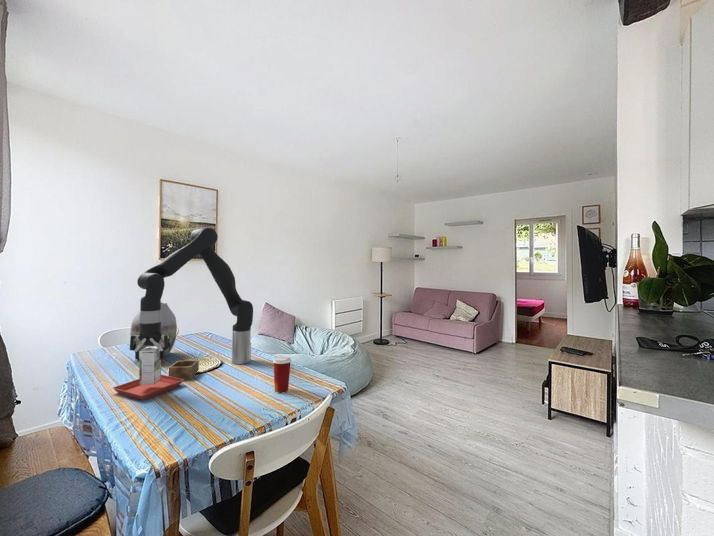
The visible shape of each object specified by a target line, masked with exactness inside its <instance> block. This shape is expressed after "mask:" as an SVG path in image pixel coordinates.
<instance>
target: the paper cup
mask: <svg viewBox="0 0 714 536" xmlns="http://www.w3.org/2000/svg"><path fill="white" fill-rule="evenodd" d="M272 363H273V381H274V382H273V384H274V385H273V386H274V387H273V388H274V392H275V393H276V392H279V393H278V394H283V393H282V392H285V393H287V392H288V391H289V385H290V375H291V374H290V373H291V363H292V359H291V356H290V355H285V354H284V355H277V356H275V357H274V358H273V360H272ZM286 391H287V392H286Z"/></svg>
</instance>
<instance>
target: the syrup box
mask: <svg viewBox="0 0 714 536" xmlns="http://www.w3.org/2000/svg"><path fill="white" fill-rule="evenodd" d="M159 351H160V350H159V349H158V348H157V347H156V346H151V347H146V348H144V349H142V350H140V351H139V361H138V362H139V363H138V364H139V365H138V366H139V367H138V368H139V371H138V372H139V377H138V379H139V385H154V384H156V383H157V382H158V381H159V380H161V374H162V360H159Z"/></svg>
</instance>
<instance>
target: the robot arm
mask: <svg viewBox="0 0 714 536" xmlns="http://www.w3.org/2000/svg"><path fill="white" fill-rule="evenodd" d="M218 239H219V238H218V233H217V231H216V230H215V229H213V228H212V227H211V228H210V227H202V228H196V229H194V230H192V231H191V233H190V241H191V242H190V243H187V244H186V245H184V246H183V247H182V248H179V249H177V250H175V251H174V252H172V253H171V254H169V255H168V256H167V257H165V258H164V259H163V260H161V261H160V263H158V264H156V265H154V266H152V267H150V268H149V269H147V270H145V271H144V272H142V273H141V274H140V275H139V276H138V278H137V286H138V287H139V288H140V289H142V290H145V294H144V296H142V297H141V299H140V305H139V307H140V308H139V309H140V319H139V321H140V323H139V333H140V335H133V336H131V337H130V340H129V351H134V352H135V354H134V357H135V358H134V359H135V360H136V361H138V362H139V351H140V350H141V348H142V347H143V346H144V345H145V346H149V345H150V346H154V345H155V346H156V347H157V348H158V349H159V350H160V351H159V360H161V361H162V360H164V358H166V357H165V350H166V349H168V348H170V335H169V334H167V335H162V334H161V302H162V301H161V300H162V297H163V294H164V293H163V292H164V289H165V285H166V284H165V278H168V277H171V276H173V275H175V274H176V272H178V271H179V270H180V269H181V268H182V267H184V266H185V265H186V264H187V263H188V262H190V261H191V260H193V259H194V258H195V257H197V256H198V255H199V256H200V257H201V258H202V260H203V261H204V263H205V265H206V267H207V268H208V270H209V272H210V274H211V277H212V279H214V282H215V283H216V285H217V287H218V288H219V290H220V292H221V294H222V295H223V297H224V299H225V302H226V304H227V306H228V308H229V310H230V313H231V314H232V315H233V316H234V317H236V322H235V323H234V324H233V325H232V332H231V333H232V336H231V338H232V342H231V363H232V364H233V365H234V364H235V365H243V364H249V363H250V361H251V360H252V342H251V337H252V336H251V333H252V332H251V331H252V325H253V322H254V321H253V319H254V305H253V303H252V302H250V301H249V300H244V299H242V298H241V296H240V294H239V293H238V290H237V287H236V279H235V275H234V272H233V270H232V269H231V267H230V265H229V264H228V263H227V262H226V261H225V259H223V258H222V257H221V256H220V255H218V254H217V252H216V251H215V250H214V247H213V246H214V245H215V244H216V243H217V242H218ZM138 338H139V340H140V341H141V342H140V344H139V345H138V346H137V347H136V342H137V340H138ZM161 338H163V340H164V345H163V343H162V342H161V341H160V339H161Z"/></svg>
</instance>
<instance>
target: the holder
mask: <svg viewBox="0 0 714 536" xmlns="http://www.w3.org/2000/svg"><path fill="white" fill-rule="evenodd" d="M199 363H200V361H199V359H198V360H196V359H195V360H193V359H191V360H189V359H188V360H176V361H175V362H174V363H172V364H171V365H170V366H168V376H171V377H175V378H180V379H183V380H193V378H194V377H195V376H196V375H197V374H196V372H197V371H198V370H199V367H200V366H199ZM198 372H199V371H198ZM195 374H196V375H195Z"/></svg>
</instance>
